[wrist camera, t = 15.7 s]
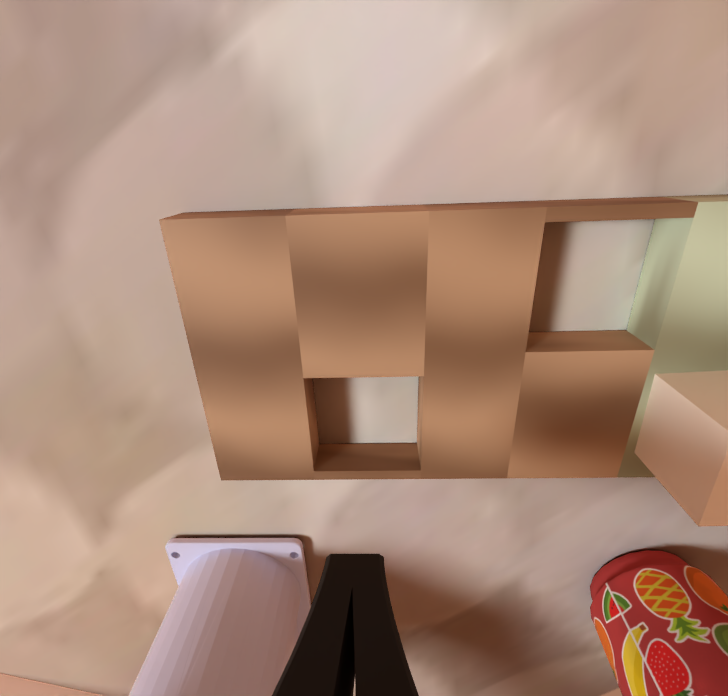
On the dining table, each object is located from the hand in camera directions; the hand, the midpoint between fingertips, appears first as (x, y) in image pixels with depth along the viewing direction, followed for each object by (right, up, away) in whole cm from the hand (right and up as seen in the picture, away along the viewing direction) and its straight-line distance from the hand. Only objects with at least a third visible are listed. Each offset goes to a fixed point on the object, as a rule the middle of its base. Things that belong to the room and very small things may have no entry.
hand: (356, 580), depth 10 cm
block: (+14, +3, +7) cm, 16 cm away
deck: (+5, +6, +8) cm, 11 cm away
